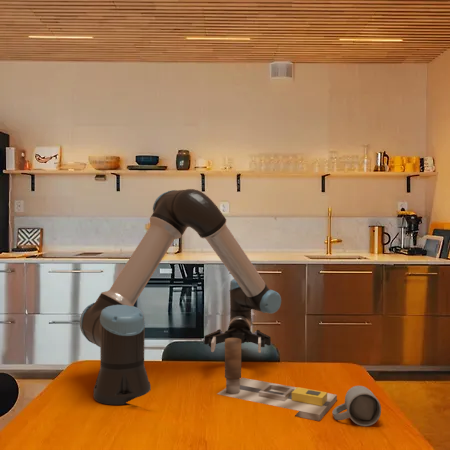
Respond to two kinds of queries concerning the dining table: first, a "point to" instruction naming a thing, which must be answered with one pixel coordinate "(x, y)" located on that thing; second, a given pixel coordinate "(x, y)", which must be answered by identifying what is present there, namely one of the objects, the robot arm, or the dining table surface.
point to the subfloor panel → (280, 398)
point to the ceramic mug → (359, 407)
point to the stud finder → (309, 396)
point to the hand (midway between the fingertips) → (235, 347)
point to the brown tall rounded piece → (232, 365)
